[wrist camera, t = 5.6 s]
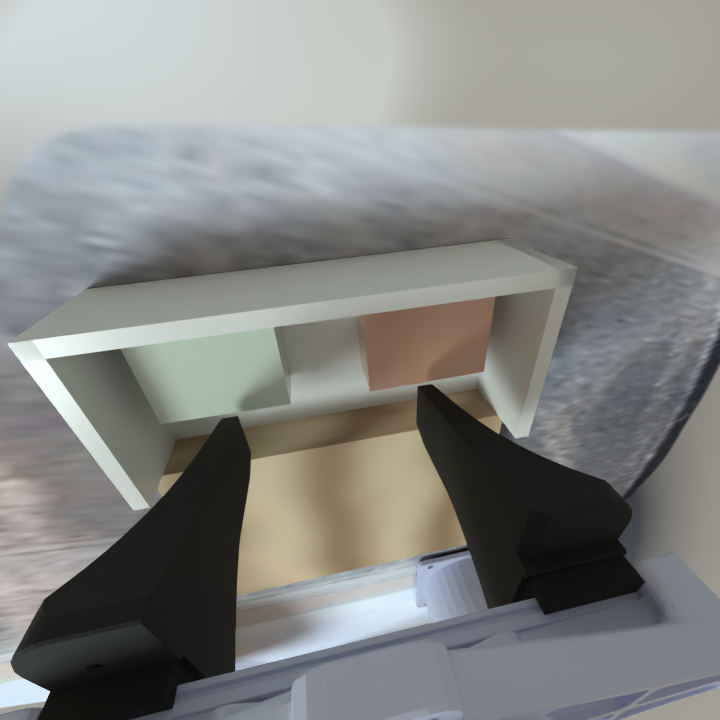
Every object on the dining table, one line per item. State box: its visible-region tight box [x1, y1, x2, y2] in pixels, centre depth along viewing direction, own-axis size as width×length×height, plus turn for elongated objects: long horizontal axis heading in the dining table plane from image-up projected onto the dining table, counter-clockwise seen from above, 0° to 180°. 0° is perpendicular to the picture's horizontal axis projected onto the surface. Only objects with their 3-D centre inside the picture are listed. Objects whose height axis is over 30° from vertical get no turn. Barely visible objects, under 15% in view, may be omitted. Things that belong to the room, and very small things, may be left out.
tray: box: [7, 239, 578, 510], centre depth 13 cm, size 16×8×4 cm, turn 94°
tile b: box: [121, 327, 291, 424], centre depth 13 cm, size 5×4×2 cm
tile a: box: [357, 297, 495, 392], centre depth 14 cm, size 5×4×2 cm
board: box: [158, 389, 502, 595], centre depth 19 cm, size 16×12×2 cm
